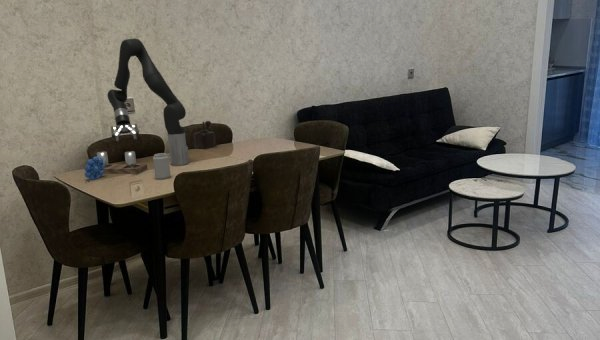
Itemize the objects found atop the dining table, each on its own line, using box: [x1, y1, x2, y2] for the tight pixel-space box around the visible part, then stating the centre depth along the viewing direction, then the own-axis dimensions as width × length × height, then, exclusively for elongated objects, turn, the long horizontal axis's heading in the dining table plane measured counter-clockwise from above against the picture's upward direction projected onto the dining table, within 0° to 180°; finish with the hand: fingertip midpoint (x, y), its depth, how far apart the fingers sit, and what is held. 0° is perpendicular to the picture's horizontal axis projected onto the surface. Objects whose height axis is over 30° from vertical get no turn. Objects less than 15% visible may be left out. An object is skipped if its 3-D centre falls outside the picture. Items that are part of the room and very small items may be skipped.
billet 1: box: [96, 151, 110, 168], centre depth 270 cm, size 5×5×10 cm
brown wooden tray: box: [102, 163, 149, 176], centre depth 269 cm, size 28×11×4 cm, turn 78°
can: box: [152, 152, 171, 180], centre depth 254 cm, size 8×8×12 cm
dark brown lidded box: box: [192, 120, 217, 150], centre depth 327 cm, size 16×11×18 cm
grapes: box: [84, 155, 105, 181], centre depth 255 cm, size 12×7×12 cm, turn 146°
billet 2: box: [124, 150, 137, 168], centre depth 267 cm, size 5×5×10 cm
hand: (126, 141), depth 278 cm, fingers open, 8 cm apart
